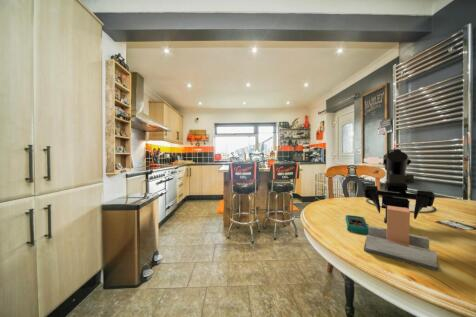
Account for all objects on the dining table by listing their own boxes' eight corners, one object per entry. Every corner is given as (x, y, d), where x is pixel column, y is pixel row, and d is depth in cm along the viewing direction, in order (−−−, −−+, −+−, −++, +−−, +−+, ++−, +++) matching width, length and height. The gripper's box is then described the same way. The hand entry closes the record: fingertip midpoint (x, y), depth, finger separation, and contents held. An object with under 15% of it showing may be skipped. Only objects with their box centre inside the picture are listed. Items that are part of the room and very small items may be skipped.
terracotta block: (386, 242, 60) (387, 205, 59) (407, 247, 57) (408, 208, 56) (386, 248, 56) (387, 209, 56) (408, 254, 53) (409, 212, 52)
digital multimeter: (347, 232, 71) (347, 224, 71) (345, 220, 84) (345, 213, 84) (370, 236, 68) (370, 228, 67) (364, 223, 81) (364, 216, 81)
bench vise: (368, 230, 72) (368, 219, 72) (425, 242, 62) (426, 229, 62) (363, 250, 57) (364, 236, 57) (439, 271, 47) (439, 254, 46)
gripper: (365, 164, 71) (362, 197, 63) (434, 167, 59) (441, 208, 51) (366, 182, 78) (363, 214, 69) (429, 187, 66) (434, 226, 57)
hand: (396, 215), depth 62 cm, fingers open, 9 cm apart
